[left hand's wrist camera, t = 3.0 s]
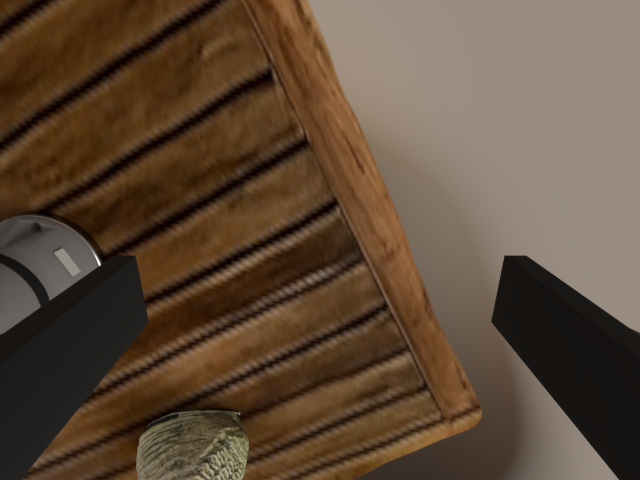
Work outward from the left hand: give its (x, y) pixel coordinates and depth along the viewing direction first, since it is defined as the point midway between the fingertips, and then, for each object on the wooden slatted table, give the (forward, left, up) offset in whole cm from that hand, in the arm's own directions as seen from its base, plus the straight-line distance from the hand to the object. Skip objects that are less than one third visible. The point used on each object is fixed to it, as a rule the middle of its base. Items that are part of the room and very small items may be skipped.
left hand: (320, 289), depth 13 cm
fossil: (-39, -26, -32) cm, 57 cm away
